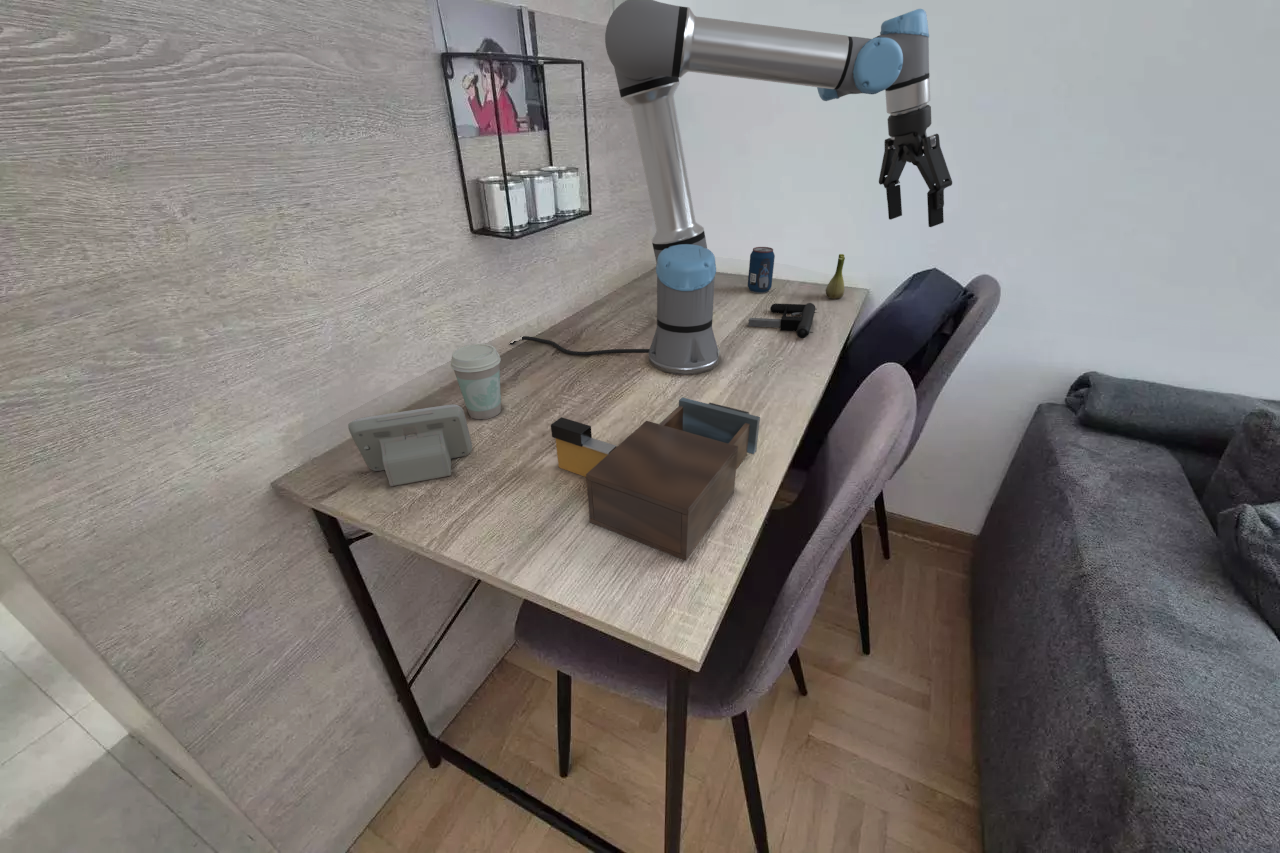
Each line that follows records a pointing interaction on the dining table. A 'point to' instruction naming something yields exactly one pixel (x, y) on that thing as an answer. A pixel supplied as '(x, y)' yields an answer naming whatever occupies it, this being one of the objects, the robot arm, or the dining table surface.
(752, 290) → the soda can
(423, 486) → the dining table surface
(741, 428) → the drawer
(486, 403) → the coffee cup
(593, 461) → the upright yellow panel
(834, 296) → the green gourd
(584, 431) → the black rectangular block
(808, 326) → the door handle
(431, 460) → the digital clock
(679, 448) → the cabinet
